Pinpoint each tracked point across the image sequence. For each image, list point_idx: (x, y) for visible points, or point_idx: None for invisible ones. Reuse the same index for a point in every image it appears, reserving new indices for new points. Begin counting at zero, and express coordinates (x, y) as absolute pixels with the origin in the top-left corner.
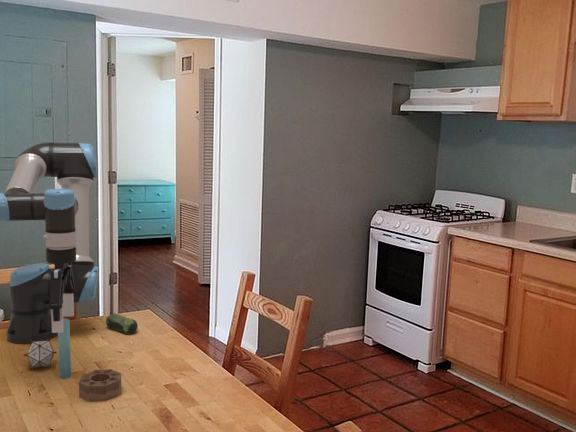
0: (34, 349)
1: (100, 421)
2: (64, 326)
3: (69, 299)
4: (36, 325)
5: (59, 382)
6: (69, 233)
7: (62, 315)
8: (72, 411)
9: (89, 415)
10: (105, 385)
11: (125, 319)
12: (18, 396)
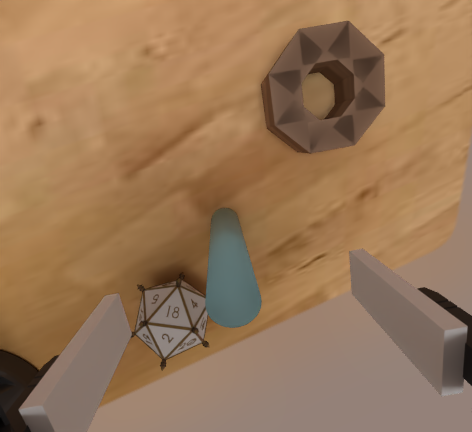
0: (197, 334)
1: (460, 48)
2: (255, 279)
3: (77, 384)
4: None
5: (260, 220)
6: None
7: (420, 293)
8: (405, 134)
9: (429, 86)
10: (383, 56)
11: None
12: (328, 275)
